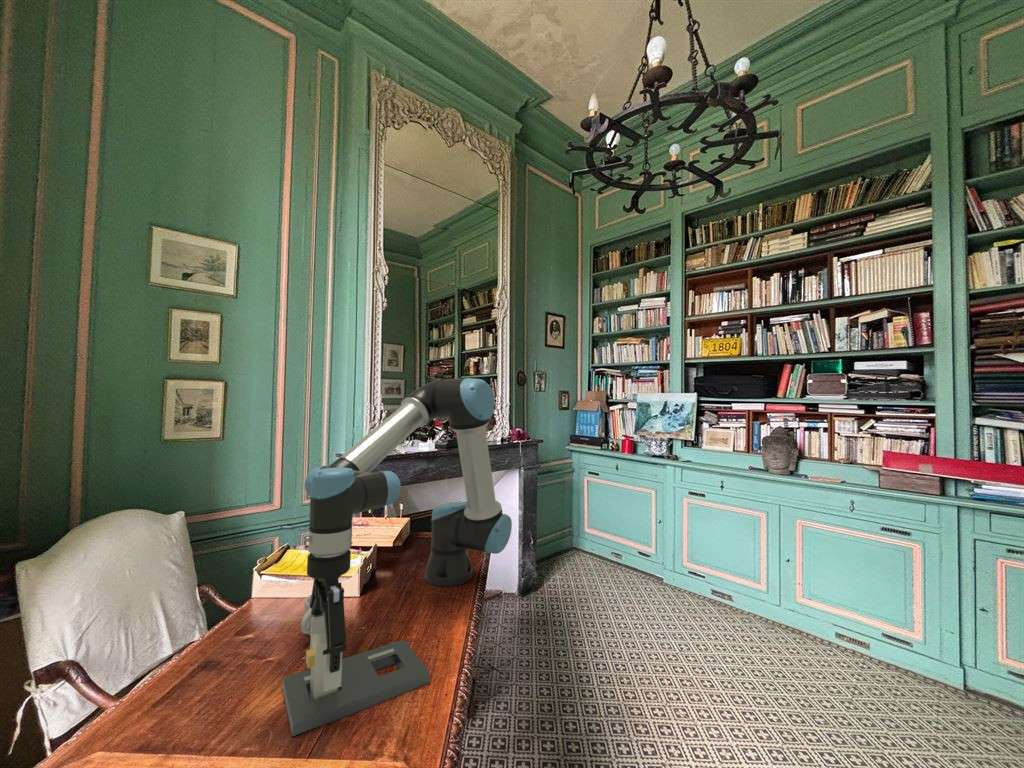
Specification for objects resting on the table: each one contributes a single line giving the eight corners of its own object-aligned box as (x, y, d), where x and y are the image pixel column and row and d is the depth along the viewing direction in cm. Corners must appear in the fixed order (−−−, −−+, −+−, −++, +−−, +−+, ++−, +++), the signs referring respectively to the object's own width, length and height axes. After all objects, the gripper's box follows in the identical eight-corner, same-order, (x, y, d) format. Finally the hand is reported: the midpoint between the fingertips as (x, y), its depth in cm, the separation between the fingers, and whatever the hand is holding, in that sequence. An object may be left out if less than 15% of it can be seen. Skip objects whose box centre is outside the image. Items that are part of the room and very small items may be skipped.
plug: (332, 688, 79) (335, 629, 80) (337, 700, 76) (339, 638, 76) (303, 698, 76) (306, 637, 77) (306, 711, 73) (309, 647, 73)
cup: (317, 650, 91) (318, 613, 92) (286, 645, 93) (288, 608, 93) (346, 625, 102) (347, 592, 102) (317, 621, 103) (319, 588, 104)
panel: (403, 648, 92) (404, 638, 92) (429, 683, 81) (429, 672, 81) (282, 688, 78) (283, 677, 78) (292, 737, 67) (292, 724, 67)
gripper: (298, 537, 86) (292, 641, 84) (320, 578, 65) (314, 717, 64) (336, 531, 90) (331, 631, 89) (368, 568, 70) (363, 698, 68)
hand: (324, 667), depth 76 cm, fingers open, 13 cm apart
